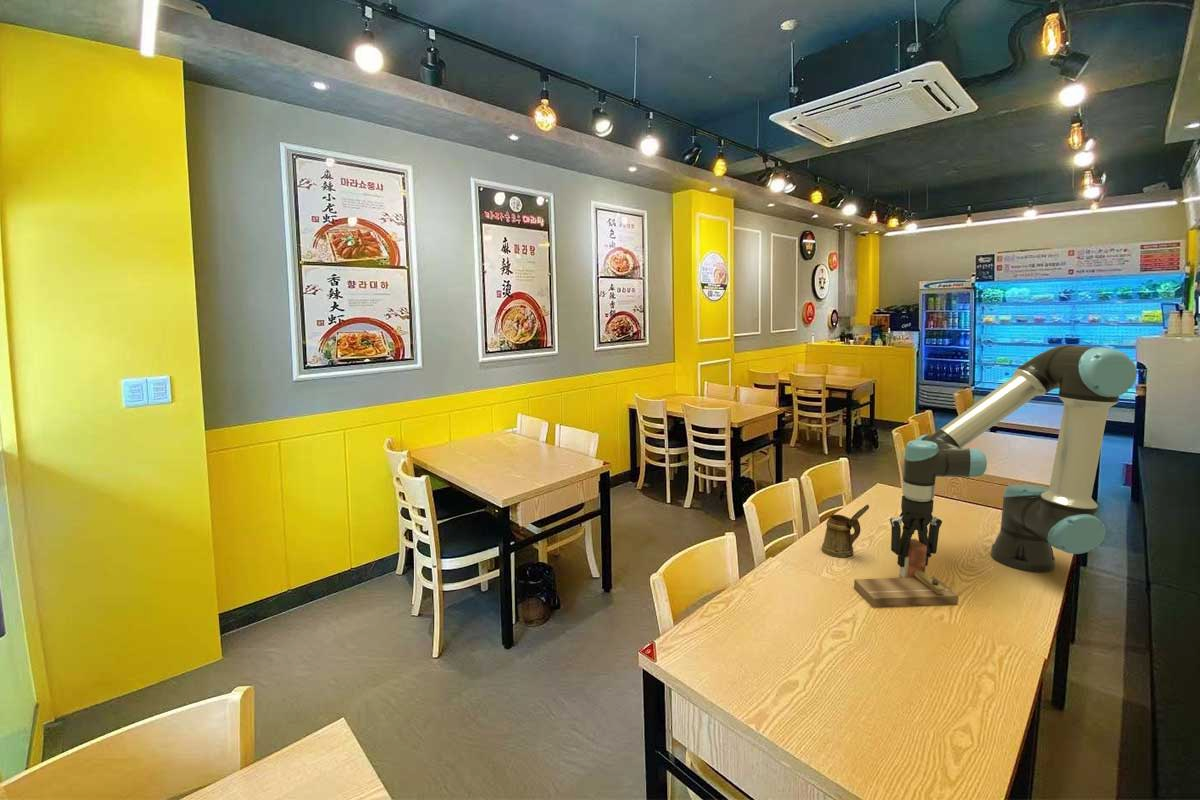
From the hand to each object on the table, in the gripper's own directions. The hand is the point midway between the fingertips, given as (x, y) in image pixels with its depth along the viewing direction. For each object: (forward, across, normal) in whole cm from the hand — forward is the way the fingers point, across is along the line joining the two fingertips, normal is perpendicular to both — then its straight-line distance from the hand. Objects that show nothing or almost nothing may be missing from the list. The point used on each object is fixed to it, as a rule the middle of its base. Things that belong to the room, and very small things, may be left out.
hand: (911, 576), depth 151 cm
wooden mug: (+1, +11, -18) cm, 21 cm away
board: (+1, +7, +8) cm, 11 cm away
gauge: (+1, 0, +5) cm, 5 cm away
